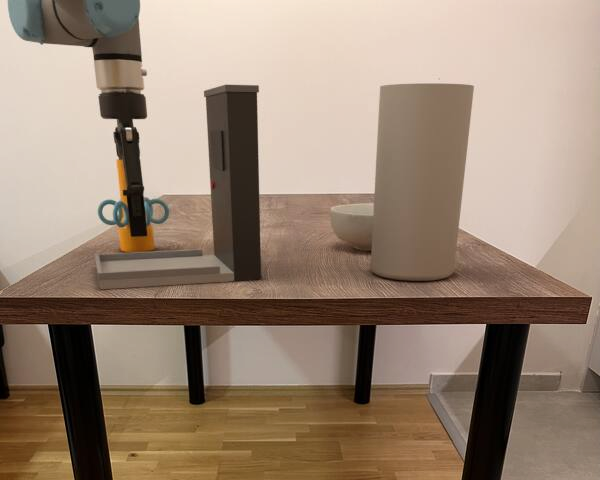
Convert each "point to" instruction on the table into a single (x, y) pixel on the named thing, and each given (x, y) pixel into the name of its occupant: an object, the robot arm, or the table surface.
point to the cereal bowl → (354, 224)
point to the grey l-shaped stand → (225, 207)
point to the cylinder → (123, 217)
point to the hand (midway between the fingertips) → (136, 231)
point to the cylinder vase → (419, 179)
